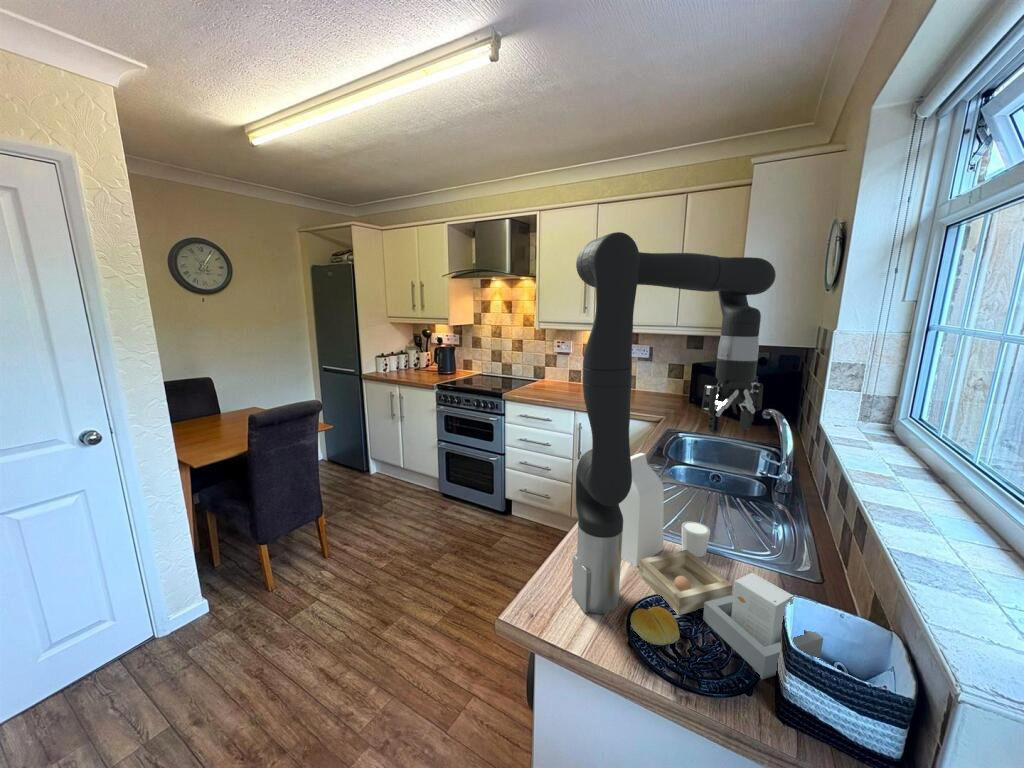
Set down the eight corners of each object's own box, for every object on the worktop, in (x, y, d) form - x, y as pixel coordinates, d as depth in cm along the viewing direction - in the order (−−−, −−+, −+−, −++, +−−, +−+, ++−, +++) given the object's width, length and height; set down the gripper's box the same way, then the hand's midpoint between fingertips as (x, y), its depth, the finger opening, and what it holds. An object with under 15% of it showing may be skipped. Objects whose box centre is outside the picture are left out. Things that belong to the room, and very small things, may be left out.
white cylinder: (683, 542, 110) (686, 518, 108) (711, 551, 105) (713, 526, 104) (675, 553, 104) (677, 528, 103) (704, 563, 100) (706, 538, 99)
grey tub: (762, 679, 68) (765, 656, 68) (702, 621, 81) (704, 602, 80) (819, 659, 72) (823, 637, 72) (754, 607, 85) (756, 588, 84)
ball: (680, 597, 87) (681, 583, 87) (670, 587, 90) (671, 574, 90) (693, 594, 88) (694, 580, 88) (682, 584, 91) (683, 571, 91)
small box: (788, 646, 74) (795, 596, 73) (770, 658, 72) (777, 606, 70) (746, 618, 81) (752, 571, 80) (728, 627, 79) (734, 579, 77)
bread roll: (623, 618, 82) (624, 601, 81) (664, 614, 83) (665, 597, 83) (642, 651, 74) (643, 632, 73) (686, 646, 75) (688, 627, 75)
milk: (636, 569, 98) (642, 468, 93) (598, 547, 107) (603, 454, 102) (662, 551, 105) (670, 456, 101) (625, 532, 114) (631, 445, 110)
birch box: (677, 617, 82) (679, 598, 81) (638, 576, 95) (639, 559, 94) (730, 603, 86) (732, 585, 85) (685, 566, 99) (686, 549, 98)
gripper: (724, 360, 80) (716, 438, 83) (778, 358, 84) (769, 432, 87) (696, 356, 87) (690, 428, 90) (747, 354, 91) (740, 423, 94)
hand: (729, 430), depth 88 cm, fingers open, 8 cm apart
